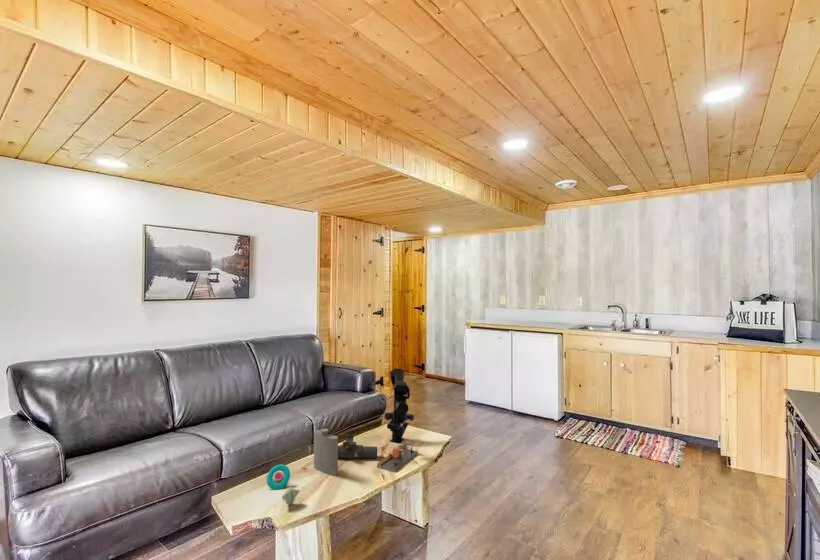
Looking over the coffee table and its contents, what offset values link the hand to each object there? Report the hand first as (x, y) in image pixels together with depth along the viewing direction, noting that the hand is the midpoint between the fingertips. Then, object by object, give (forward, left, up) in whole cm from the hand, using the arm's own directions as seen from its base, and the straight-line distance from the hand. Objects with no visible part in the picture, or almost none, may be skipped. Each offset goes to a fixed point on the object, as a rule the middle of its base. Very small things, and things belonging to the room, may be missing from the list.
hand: (400, 437), depth 214 cm
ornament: (+53, -33, -10) cm, 63 cm away
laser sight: (+13, -20, -10) cm, 26 cm away
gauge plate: (+5, +2, -10) cm, 11 cm away
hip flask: (+32, -24, -10) cm, 41 cm away
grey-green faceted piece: (+62, -17, -10) cm, 65 cm away
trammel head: (+5, 0, -8) cm, 10 cm away
